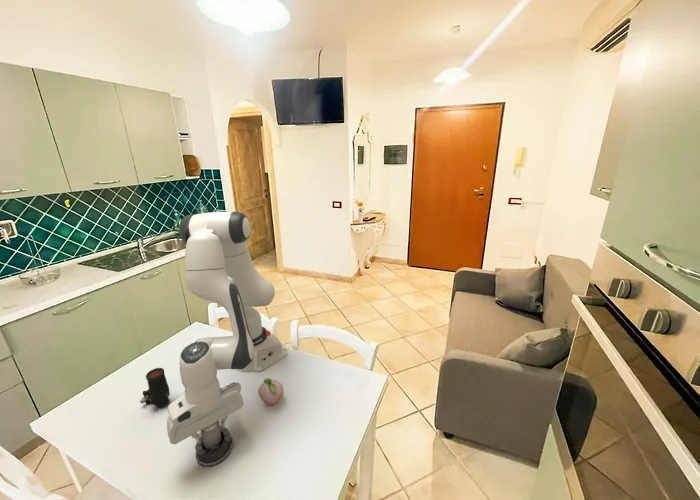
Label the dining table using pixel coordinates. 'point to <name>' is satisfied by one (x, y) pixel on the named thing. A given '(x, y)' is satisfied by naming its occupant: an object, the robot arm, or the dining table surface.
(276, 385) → the decorative fruit
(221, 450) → the faceted grey ring
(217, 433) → the grey cylinder
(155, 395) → the scope
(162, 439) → the dining table surface
